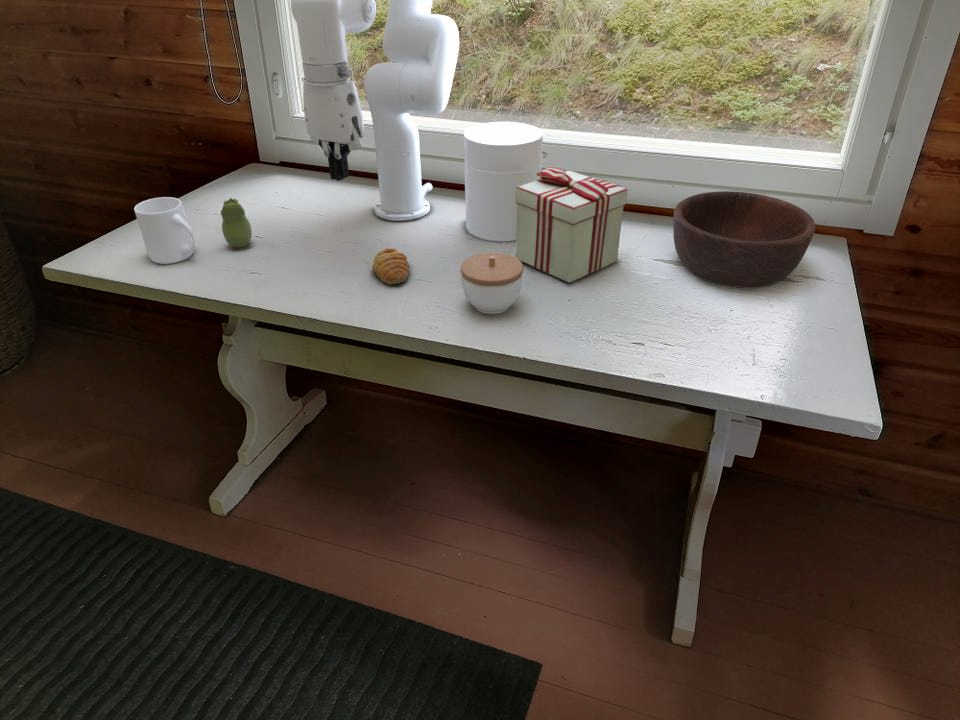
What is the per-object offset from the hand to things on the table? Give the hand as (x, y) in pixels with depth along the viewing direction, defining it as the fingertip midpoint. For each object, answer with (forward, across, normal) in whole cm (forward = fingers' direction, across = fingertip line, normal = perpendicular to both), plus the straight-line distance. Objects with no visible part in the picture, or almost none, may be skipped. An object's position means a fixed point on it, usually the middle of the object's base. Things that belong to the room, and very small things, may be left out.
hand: (340, 177), depth 128 cm
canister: (+17, -18, -30) cm, 39 cm away
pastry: (+17, -10, 0) cm, 20 cm away
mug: (+17, +32, +16) cm, 39 cm away
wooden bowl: (+17, -66, -36) cm, 77 cm away
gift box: (+17, -36, -23) cm, 46 cm away
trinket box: (+17, -33, +1) cm, 37 cm away
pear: (+17, +24, +6) cm, 31 cm away
